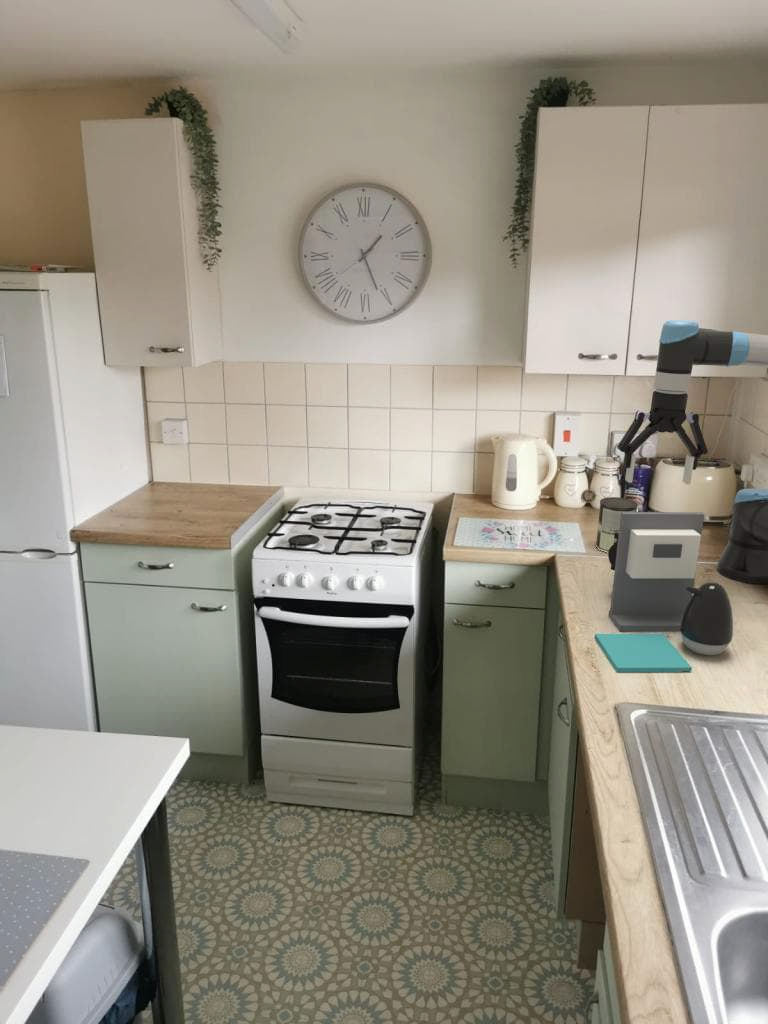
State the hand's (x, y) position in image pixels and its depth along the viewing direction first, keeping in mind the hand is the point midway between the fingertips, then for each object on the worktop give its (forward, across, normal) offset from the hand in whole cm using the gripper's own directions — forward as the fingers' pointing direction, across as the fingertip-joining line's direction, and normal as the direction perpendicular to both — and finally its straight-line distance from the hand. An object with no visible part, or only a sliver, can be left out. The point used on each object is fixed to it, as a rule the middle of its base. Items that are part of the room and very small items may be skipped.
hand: (657, 482), depth 178 cm
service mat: (+30, +10, +29) cm, 43 cm away
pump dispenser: (+29, -4, +27) cm, 40 cm away
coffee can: (+29, -4, -35) cm, 46 cm away
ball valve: (+29, -1, -3) cm, 30 cm away
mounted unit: (+29, +2, +14) cm, 33 cm away
